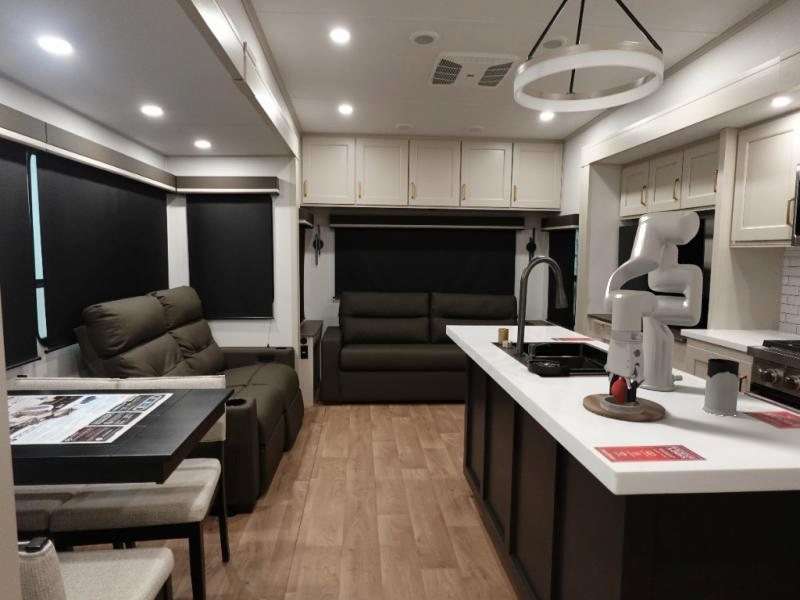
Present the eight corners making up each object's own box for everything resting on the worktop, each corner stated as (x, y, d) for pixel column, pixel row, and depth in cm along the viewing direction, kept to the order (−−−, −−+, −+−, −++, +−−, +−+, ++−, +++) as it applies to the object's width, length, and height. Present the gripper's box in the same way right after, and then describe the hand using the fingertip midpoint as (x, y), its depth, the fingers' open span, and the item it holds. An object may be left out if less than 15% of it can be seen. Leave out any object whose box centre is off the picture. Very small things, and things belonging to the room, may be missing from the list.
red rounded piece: (628, 400, 141) (630, 373, 140) (636, 406, 136) (637, 378, 135) (608, 400, 142) (609, 373, 141) (614, 406, 136) (616, 378, 135)
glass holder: (706, 414, 138) (710, 363, 137) (693, 400, 152) (697, 353, 151) (742, 418, 136) (746, 365, 134) (726, 403, 149) (729, 355, 148)
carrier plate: (627, 396, 156) (628, 382, 155) (683, 418, 135) (685, 402, 134) (567, 400, 150) (568, 386, 150) (616, 424, 129) (617, 408, 129)
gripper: (660, 341, 130) (656, 406, 131) (616, 331, 146) (613, 389, 148) (636, 342, 128) (632, 408, 129) (594, 331, 144) (591, 391, 146)
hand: (622, 398), depth 139 cm, fingers closed on red rounded piece, 5 cm apart
